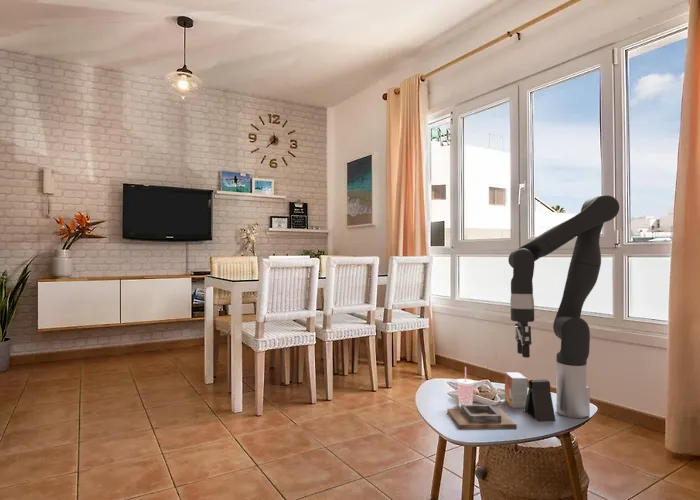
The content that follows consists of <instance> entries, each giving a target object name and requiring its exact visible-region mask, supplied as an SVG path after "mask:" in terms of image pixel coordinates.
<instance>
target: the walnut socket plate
mask: <svg viewBox="0 0 700 500" xmlns="http://www.w3.org/2000/svg"><path fill="white" fill-rule="evenodd" d="M447 414H448V415H449V417H450V418H451V419H452V421H453V422H454V423H455V425H456V427H458V429H459V430H461V429H462V430H463V429H465V430H466V429H469V430H470V429H471V430H473V429H475V430H477V429H478V430H479V429H480V430H481V429H482V430H483V429H517V428H518V427H517V425H518V424H517V423H516V422H515V421H514V420H513V419H511V418H510V417H509V416H508V415H507V414H506V413H505V412H504V411H503V410H502V409H501V408H494V406H492V405H491V404H472V405H461V407H460V408H447Z"/></svg>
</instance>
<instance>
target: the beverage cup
mask: <svg viewBox="0 0 700 500" xmlns="http://www.w3.org/2000/svg"><path fill="white" fill-rule="evenodd" d="M456 384H457V393H458V394H457V395H458V406H459V408H461V405H473V401H474V400H473V399H474V386H475V380H473V379H470V378H467V366H464V378H458V379H456Z"/></svg>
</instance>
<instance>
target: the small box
mask: <svg viewBox="0 0 700 500" xmlns="http://www.w3.org/2000/svg"><path fill="white" fill-rule="evenodd" d="M528 390H529V379H528V377H526V376H524V375H523V374H522V373H520V372H516V371H515V372H512V371H511V372H510V371H509V372H508V371H507V372H506V371H504V401H505V402H506V403H508V404H509V406H510V407H511V408H515V409H516V408H519V409H520V408H521V409H525V405H526V400H527V395H528Z"/></svg>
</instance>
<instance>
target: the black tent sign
mask: <svg viewBox="0 0 700 500" xmlns="http://www.w3.org/2000/svg"><path fill="white" fill-rule="evenodd" d="M554 409H555V408H554V405H553V398H552V393H551V382H550V380H548V379H528V393H527V400H526V405H525V408H524V412H525V413H526V414H527V415H529V416H530V417H531V418H532V419H534V420H535V421H536V422H553V421H554V422H555V421H556V416H555V410H554Z"/></svg>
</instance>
